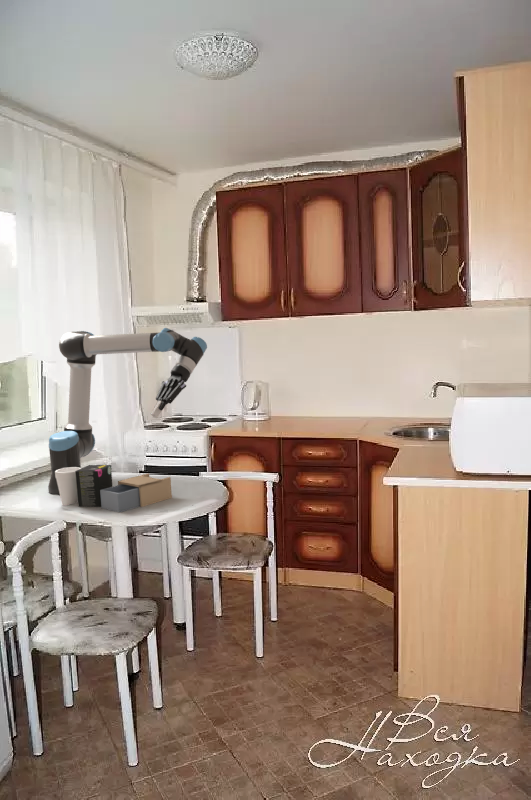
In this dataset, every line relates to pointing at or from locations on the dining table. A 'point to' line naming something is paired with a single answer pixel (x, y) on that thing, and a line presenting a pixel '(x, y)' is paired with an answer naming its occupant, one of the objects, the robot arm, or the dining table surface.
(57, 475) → the foam cup
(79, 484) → the tampon box
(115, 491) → the drawer tray
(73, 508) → the dining table surface
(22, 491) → the dining table surface
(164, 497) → the mailer sleeve
